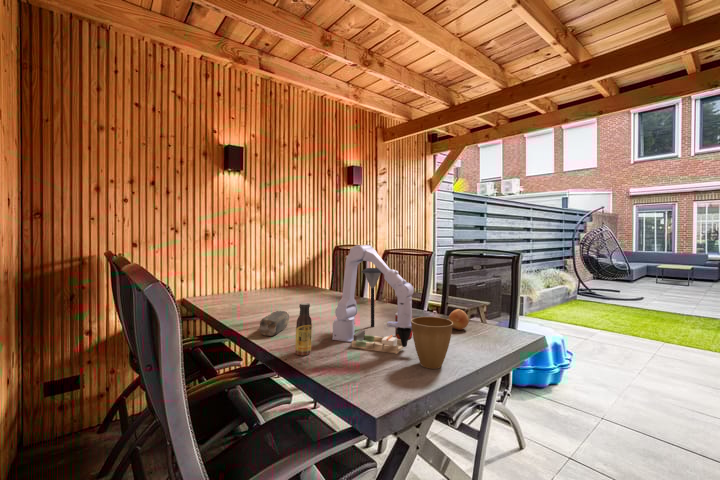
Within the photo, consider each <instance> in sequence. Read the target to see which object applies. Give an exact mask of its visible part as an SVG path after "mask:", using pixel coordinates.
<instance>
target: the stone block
mask: <svg viewBox="0 0 720 480" xmlns="http://www.w3.org/2000/svg"><path fill="white" fill-rule="evenodd" d="M289 320H290V314H289V313H288V312H287V311H284V310H275V311H273V312H271V313H270V314H268V315H266V316H264V317H263V318H262V319H260V322H259V332H260V334H261V335H262V336H266V337H269V336H270V337H272V336H276V335H278V334H279V333H280V332H281V331H284V330H285V328H287V326H288V325H289Z"/></svg>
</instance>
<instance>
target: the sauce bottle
mask: <svg viewBox="0 0 720 480" xmlns="http://www.w3.org/2000/svg"><path fill="white" fill-rule="evenodd" d="M310 308H311V304H310V303H309V302H300V303H299V315H298V317H297V319H296V324H295V325H296V327H295V347H294V350H295V354H296V355H297V356H302V357H303V356H308V355H310V354H311V351H312V333H313V332H312V331H313V325H312V324H313V323H312V318H311V316H310Z"/></svg>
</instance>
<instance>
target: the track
mask: <svg viewBox="0 0 720 480" xmlns="http://www.w3.org/2000/svg"><path fill="white" fill-rule="evenodd" d="M384 337H385V336H384ZM384 337H383V336H377V335H371V334H366V331H365V330H364V329H361V330H359V331H358V332H356V333H354V335H353V340H352V341H351V347H352V348H357V349H363V350H369V351H378V352H383V353H389V354H396V355H397V354H398V353H399V352H401V351H402V350H403V348H404V347H402V343H401V339H397V345H396V346H391V345H384V344H382V339H383V338H384Z"/></svg>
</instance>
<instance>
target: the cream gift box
mask: <svg viewBox="0 0 720 480" xmlns="http://www.w3.org/2000/svg"><path fill="white" fill-rule="evenodd" d="M382 344H384V345H391V346H396V345H397V338H396V336H393V335H392V334H391V335H389V336H384V338H383V339H382Z"/></svg>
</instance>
